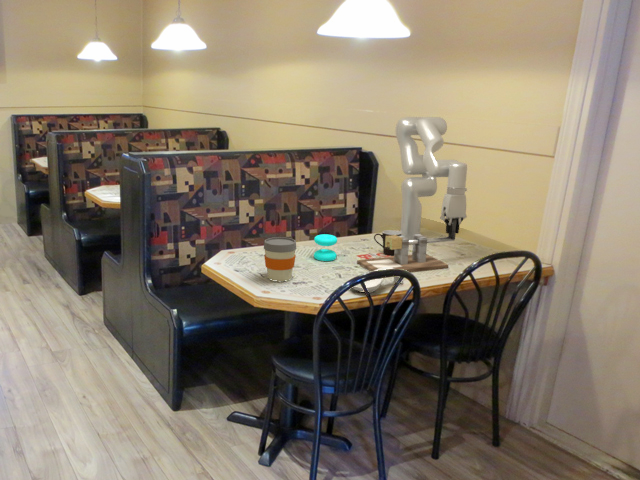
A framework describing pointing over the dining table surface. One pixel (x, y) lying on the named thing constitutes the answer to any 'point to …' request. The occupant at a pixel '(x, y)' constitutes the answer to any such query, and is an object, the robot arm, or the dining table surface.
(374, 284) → the spoon rest
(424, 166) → the robot arm
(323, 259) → the turquoise hourglass
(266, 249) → the reusable coffee cup
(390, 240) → the block
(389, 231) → the coffee mug
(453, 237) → the shaft
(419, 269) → the wooden base with brackets
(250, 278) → the dining table surface
